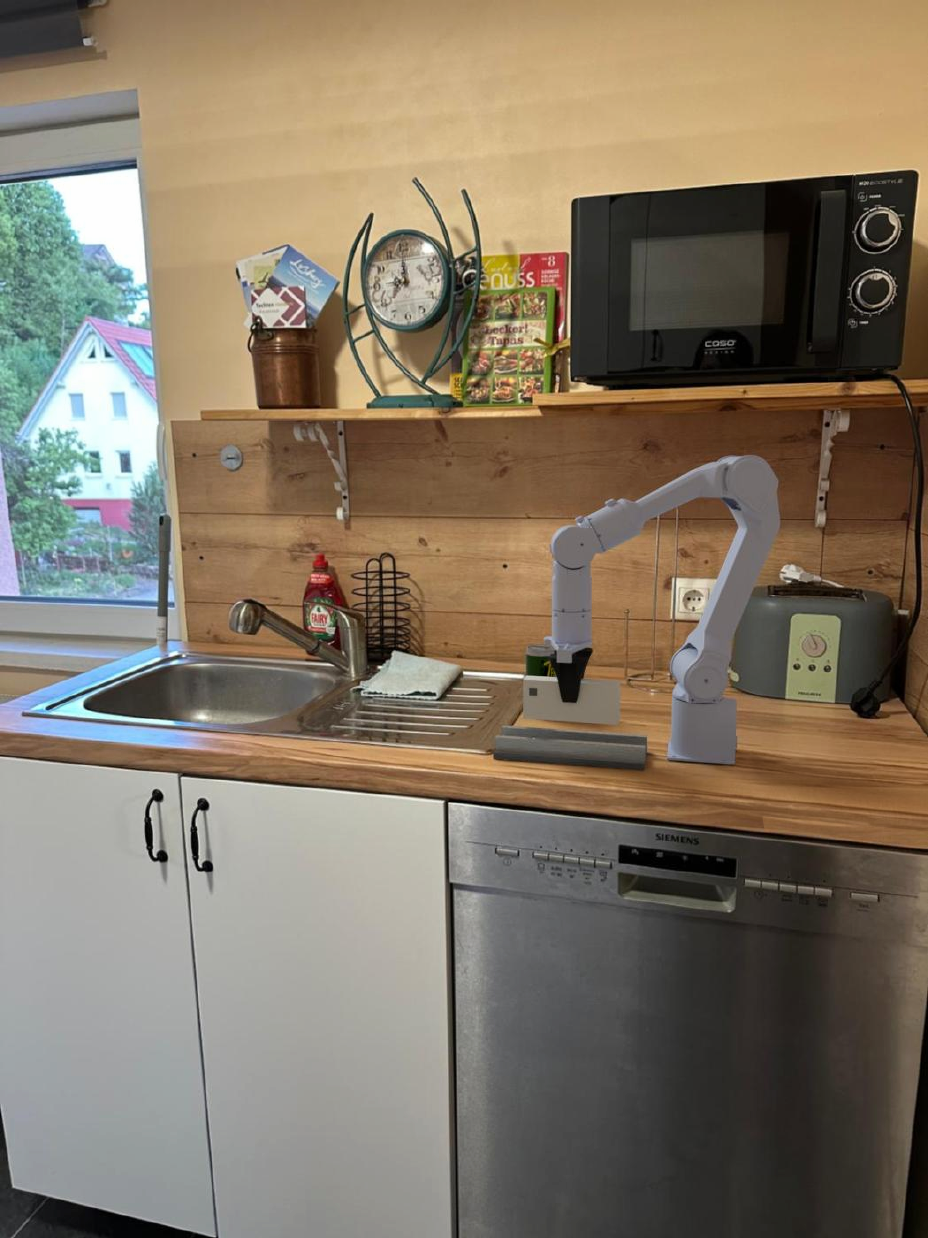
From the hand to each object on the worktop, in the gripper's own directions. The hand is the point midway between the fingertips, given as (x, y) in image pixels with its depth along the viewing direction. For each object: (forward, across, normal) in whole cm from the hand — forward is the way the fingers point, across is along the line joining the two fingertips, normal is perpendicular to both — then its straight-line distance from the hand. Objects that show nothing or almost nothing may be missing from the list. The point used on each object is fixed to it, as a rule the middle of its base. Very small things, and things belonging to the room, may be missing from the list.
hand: (571, 699), depth 123 cm
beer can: (+9, -20, -8) cm, 23 cm away
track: (+9, 0, 0) cm, 9 cm away
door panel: (+3, 0, 0) cm, 3 cm away
